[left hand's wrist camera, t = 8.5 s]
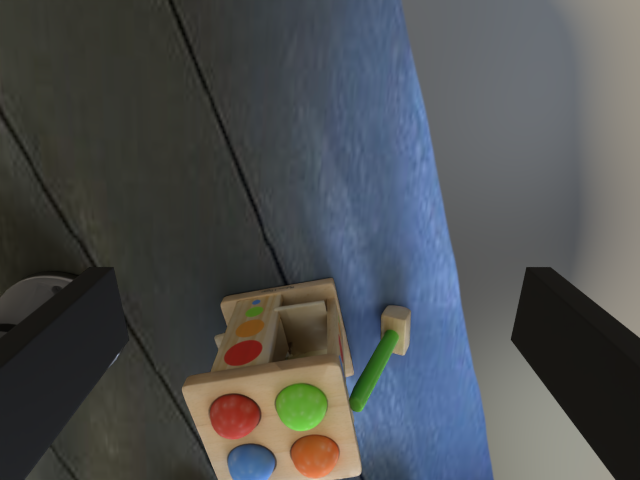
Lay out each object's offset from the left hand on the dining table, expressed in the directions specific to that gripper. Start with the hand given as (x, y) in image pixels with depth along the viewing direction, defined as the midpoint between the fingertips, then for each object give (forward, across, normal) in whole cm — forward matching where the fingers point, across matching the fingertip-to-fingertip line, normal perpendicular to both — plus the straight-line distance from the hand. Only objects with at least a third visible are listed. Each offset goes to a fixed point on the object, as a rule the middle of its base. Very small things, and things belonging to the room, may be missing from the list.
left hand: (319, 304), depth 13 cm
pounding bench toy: (+32, 0, +23) cm, 40 cm away
